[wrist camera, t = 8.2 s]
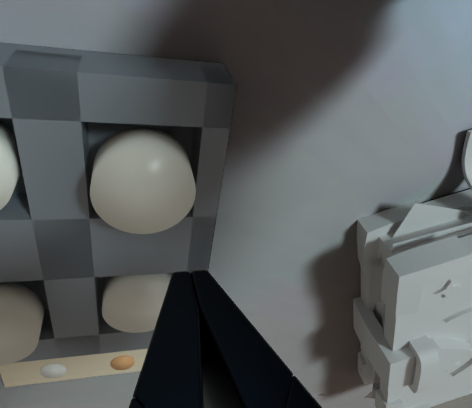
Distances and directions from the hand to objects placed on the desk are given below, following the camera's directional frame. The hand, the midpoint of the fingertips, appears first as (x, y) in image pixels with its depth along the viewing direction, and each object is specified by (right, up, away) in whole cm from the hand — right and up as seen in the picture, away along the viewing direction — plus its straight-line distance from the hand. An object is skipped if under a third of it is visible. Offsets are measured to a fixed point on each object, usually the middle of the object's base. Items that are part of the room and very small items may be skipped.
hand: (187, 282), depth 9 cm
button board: (-8, +1, +12) cm, 15 cm away
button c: (-5, -3, +15) cm, 16 cm away
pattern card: (-10, -9, +19) cm, 24 cm away
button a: (-3, +4, +9) cm, 10 cm away
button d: (-12, -4, +12) cm, 17 cm away
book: (+20, -3, +24) cm, 31 cm away
